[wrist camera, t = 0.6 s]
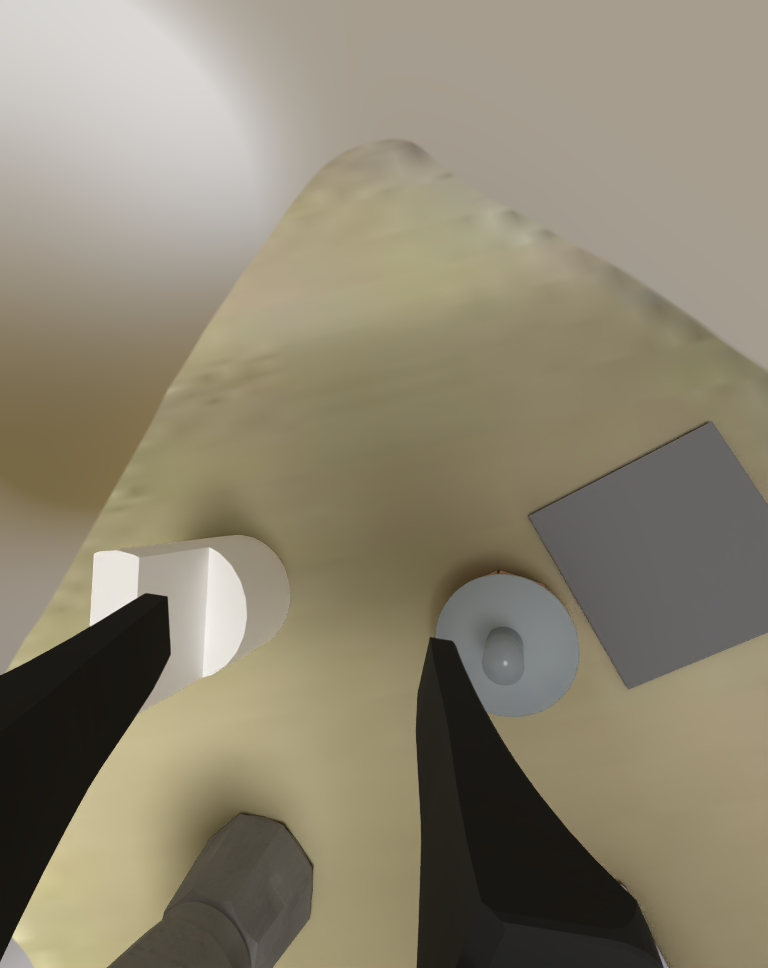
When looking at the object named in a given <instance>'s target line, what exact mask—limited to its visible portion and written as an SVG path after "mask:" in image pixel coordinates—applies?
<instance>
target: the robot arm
mask: <svg viewBox="0 0 768 968" xmlns="http://www.w3.org/2000/svg"><path fill="white" fill-rule="evenodd" d="M170 655H171V644H170V627H169V609H168V596H162V595H156V594H150V593H145V594H143V595H141V596H140V597H138V598H136V599H134V600H133V601H131V602H130V603H128V604H126V605H125V606H123V607H121V608H120V609H118V610H117V611H115V612H113V613H112V614H110V615H108V616H107V617H105V618H104V619H102V620H100V621H99V622H97V623H95V624H94V625H92V626H90V627H89V628H87V629H85V630H84V631H82V632H80V633H79V634H77V635H75V636H74V637H72V638H70V639H68V640H67V641H65V642H63V643H61V644H59V645H58V646H56V647H54V648H52V649H50V650H49V651H47V652H45V653H43V654H41V655H39V656H38V657H36V658H34V659H32V660H30V661H28V662H27V663H25V664H23V665H21V666H19V667H17V668H15V669H13V670H11V671H9V672H7V673H5V674H3V675H0V961H1V959H2V957H3V955H4V952H5V950H6V948H7V946H8V944H9V942H10V940H11V937H12V935H13V933H14V931H15V929H16V927H17V925H18V923H19V921H20V919H21V917H22V915H23V913H24V911H25V909H26V907H27V905H28V902H29V900H30V898H31V896H32V894H33V892H34V890H35V888H36V886H37V884H38V882H39V880H40V878H41V876H42V874H43V872H44V870H45V868H46V866H47V865H48V863H49V861H50V859H51V857H52V855H53V853H54V851H55V849H56V847H57V845H58V844H59V842H60V840H61V838H62V836H63V834H64V832H65V830H66V828H67V826H68V825H69V823H70V821H71V819H72V817H73V815H74V814H75V812H76V810H77V808H78V806H79V805H80V803H81V801H82V799H83V797H84V795H85V794H86V792H87V790H88V788H89V787H90V785H91V783H92V782H93V780H94V778H95V777H96V775H97V774H98V772H99V770H100V769H101V767H102V766H103V764H104V763H105V761H106V760H107V758H108V757H109V755H110V754H111V752H112V751H113V749H114V748H115V746H116V745H117V743H118V742H119V740H120V739H121V738H122V736H123V735H124V733H125V732H126V730H127V729H128V727H129V726H130V724H131V723H132V721H133V720H134V718H135V717H136V715H137V714H138V712H139V711H140V709H141V708H142V706H143V705H144V703H145V702H146V700H147V699H148V697H149V695H150V694H151V692H152V691H153V689H154V687H155V685H156V683H157V682H158V680H159V678H160V676H161V674H162V672H163V670H164V668H165V666H166V664H167V662H168V660H169V657H170ZM416 744H417V762H418V780H419V797H420V815H421V866H420V899H419V927H418V951H417V968H669V967H668V965H667V963H666V961H665V960H664V958H663V956H662V954H661V952H660V950H659V948H658V947H657V945H656V943H655V941H654V939H653V937H652V934H651V932H650V929H649V927H648V925H647V923H646V921H645V918H644V916H643V914H642V912H641V910H640V908H639V905H638V903H637V901H636V900H635V899H634V898H633V897H632V896H631V895H630V894H629V893H628V891H627V889H626V888H625V887H624V886H623V885H621V884H619V883H618V882H617V881H616V880H615V879H614V878H613V877H612V876H611V875H610V874H609V873H608V872H607V871H606V870H605V869H604V868H603V867H602V866H601V865H600V864H599V863H598V862H597V861H596V860H595V859H594V858H593V857H592V856H591V855H590V853H589V852H588V851H587V850H586V849H585V848H584V847H583V846H582V845H581V844H580V842H579V841H578V840H577V839H576V838H575V837H574V836H573V835H572V834H571V832H570V831H569V830H568V829H567V828H566V826H565V825H564V824H563V823H562V822H561V820H560V819H559V818H558V817H557V815H556V814H555V813H554V812H553V811H552V809H551V808H550V807H549V806H548V804H547V803H546V802H545V801H544V800H543V798H542V797H541V796H540V794H539V793H538V792H537V790H536V789H535V788H534V786H533V785H532V783H531V782H530V781H529V779H528V778H527V777H526V775H525V774H524V772H523V771H522V769H521V768H520V767H519V765H518V764H517V762H516V761H515V759H514V758H513V756H512V755H511V753H510V752H509V750H508V748H507V747H506V745H505V744H504V742H503V740H502V739H501V737H500V735H499V734H498V732H497V730H496V728H495V727H494V725H493V723H492V722H491V720H490V718H489V716H488V714H487V712H486V711H485V709H484V707H483V705H482V703H481V701H480V699H479V697H478V695H477V693H476V691H475V689H474V687H473V685H472V683H471V681H470V678H469V676H468V674H467V672H466V670H465V667H464V665H463V663H462V660H461V658H460V655H459V653H458V650H457V647H456V645H455V643H454V642H453V641H451V640H445V639H439V638H432V637H430V640H429V644H428V649H427V653H426V658H425V662H424V667H423V672H422V676H421V681H420V685H419V690H418V697H417V717H416Z"/></svg>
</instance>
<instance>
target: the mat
mask: <svg viewBox="0 0 768 968" xmlns="http://www.w3.org/2000/svg"><path fill="white" fill-rule="evenodd" d="M529 518H530V520H531V521H532V523H533V525H534V527H535V528H536V530H537V532H538V534H539V535H540V537H541V539H542V540H543V542H544V544H545V546H546V547H547V549H548V551H549V553H550V554H551V556H552V558H553V560H554V561H555V563H556V565H557V567H558V568H559V570H560V572H561V573H562V575H563V577H564V579H565V580H566V582H567V584H568V586H569V587H570V589H571V591H572V593H573V594H574V596H575V598H576V599H577V601H578V603H579V605H580V606H581V608H582V610H583V612H584V613H585V615H586V617H587V619H588V620H589V622H590V624H591V626H592V627H593V629H594V631H595V632H596V634H597V636H598V638H599V639H600V641H601V643H602V645H603V646H604V648H605V650H606V652H607V653H608V655H609V657H610V658H611V660H612V662H613V664H614V665H615V667H616V669H617V671H618V672H619V674H620V676H621V678H622V679H623V681H624V683H625V685H626V686H627V688H628V689H631V688H633V687H636V686H638V685H640V684H643V683H645V682H648V681H650V680H653V679H655V678H657V677H660V676H662V675H665V674H667V673H670V672H672V671H675V670H677V669H679V668H682V667H684V666H687V665H689V664H692V663H694V662H697V661H699V660H701V659H704V658H706V657H709V656H711V655H714V654H716V653H718V652H721V651H723V650H726V649H728V648H731V647H733V646H736V645H738V644H740V643H743V642H745V641H748V640H750V639H753V638H755V637H758V636H760V635H762V634H765V633H767V632H768V504H767V503H766V501H765V500H764V498H763V497H762V495H761V494H760V492H759V491H758V489H757V488H756V486H755V485H754V483H753V482H752V480H751V479H750V477H749V476H748V474H747V473H746V471H745V470H744V468H743V467H742V465H741V464H740V462H739V461H738V459H737V458H736V456H735V455H734V453H733V452H732V450H731V449H730V448H729V446H728V445H727V443H726V442H725V440H724V439H723V437H722V436H721V434H720V433H719V431H718V430H717V428H716V427H715V425H714V424H713V422H712V421H711V422H709V423H707V424H705V425H703V426H701V427H699V428H697V429H696V430H694V431H692V432H690V433H688V434H686V435H684V436H682V437H680V438H678V439H676V440H674V441H672V442H670V443H668V444H667V445H665V446H663V447H661V448H659V449H657V450H655V451H653V452H651V453H649V454H647V455H645V456H643V457H641V458H639V459H638V460H636V461H634V462H632V463H630V464H628V465H626V466H624V467H622V468H620V469H618V470H616V471H614V472H612V473H610V474H609V475H607V476H605V477H603V478H601V479H599V480H597V481H595V482H593V483H591V484H589V485H587V486H585V487H583V488H582V489H580V490H578V491H576V492H574V493H572V494H570V495H568V496H566V497H564V498H562V499H560V500H558V501H556V502H554V503H553V504H551V505H549V506H547V507H545V508H543V509H541V510H539V511H537V512H535V513H533V514H531V515H529Z"/></svg>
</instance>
